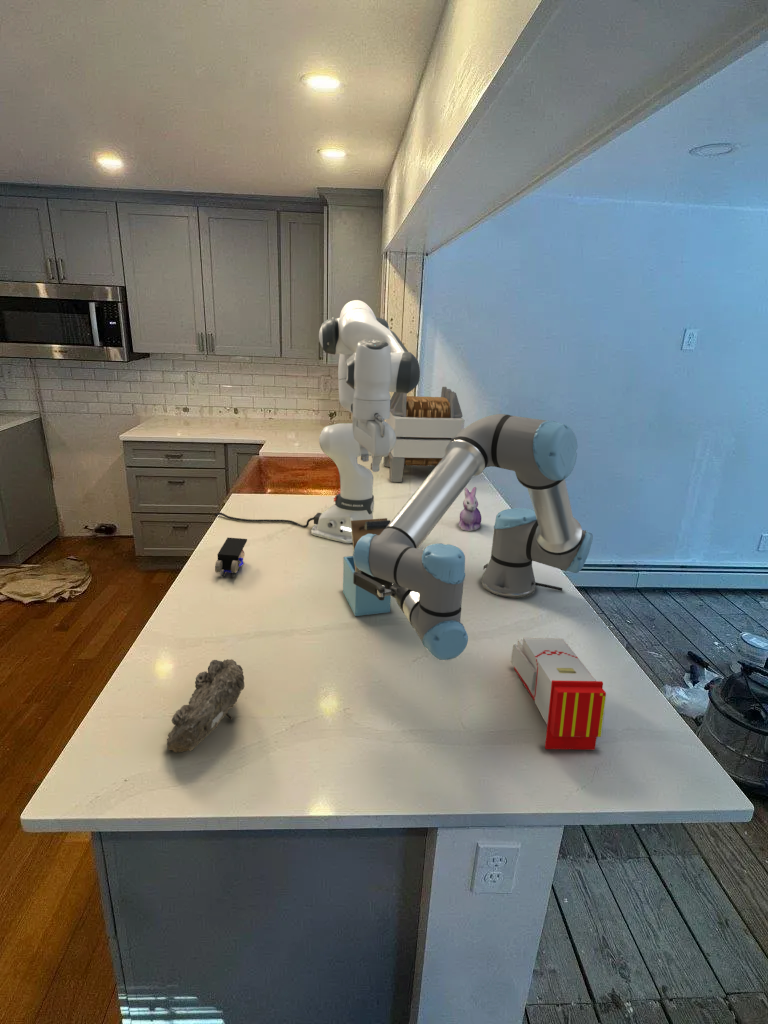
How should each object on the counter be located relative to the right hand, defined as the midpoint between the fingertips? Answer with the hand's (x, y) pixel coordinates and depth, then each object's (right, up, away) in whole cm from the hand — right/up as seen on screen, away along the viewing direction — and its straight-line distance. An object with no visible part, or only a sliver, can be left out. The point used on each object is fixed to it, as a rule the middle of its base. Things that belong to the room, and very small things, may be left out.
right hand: (387, 559), depth 131 cm
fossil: (-34, -28, -23) cm, 50 cm away
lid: (-4, +2, +13) cm, 14 cm away
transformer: (+16, +30, +144) cm, 148 cm away
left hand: (-4, +22, +10) cm, 25 cm away
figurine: (+31, +5, +78) cm, 84 cm away
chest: (-6, -13, +22) cm, 26 cm away
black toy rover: (-46, -6, +36) cm, 59 cm away
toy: (+33, -28, -15) cm, 46 cm away
